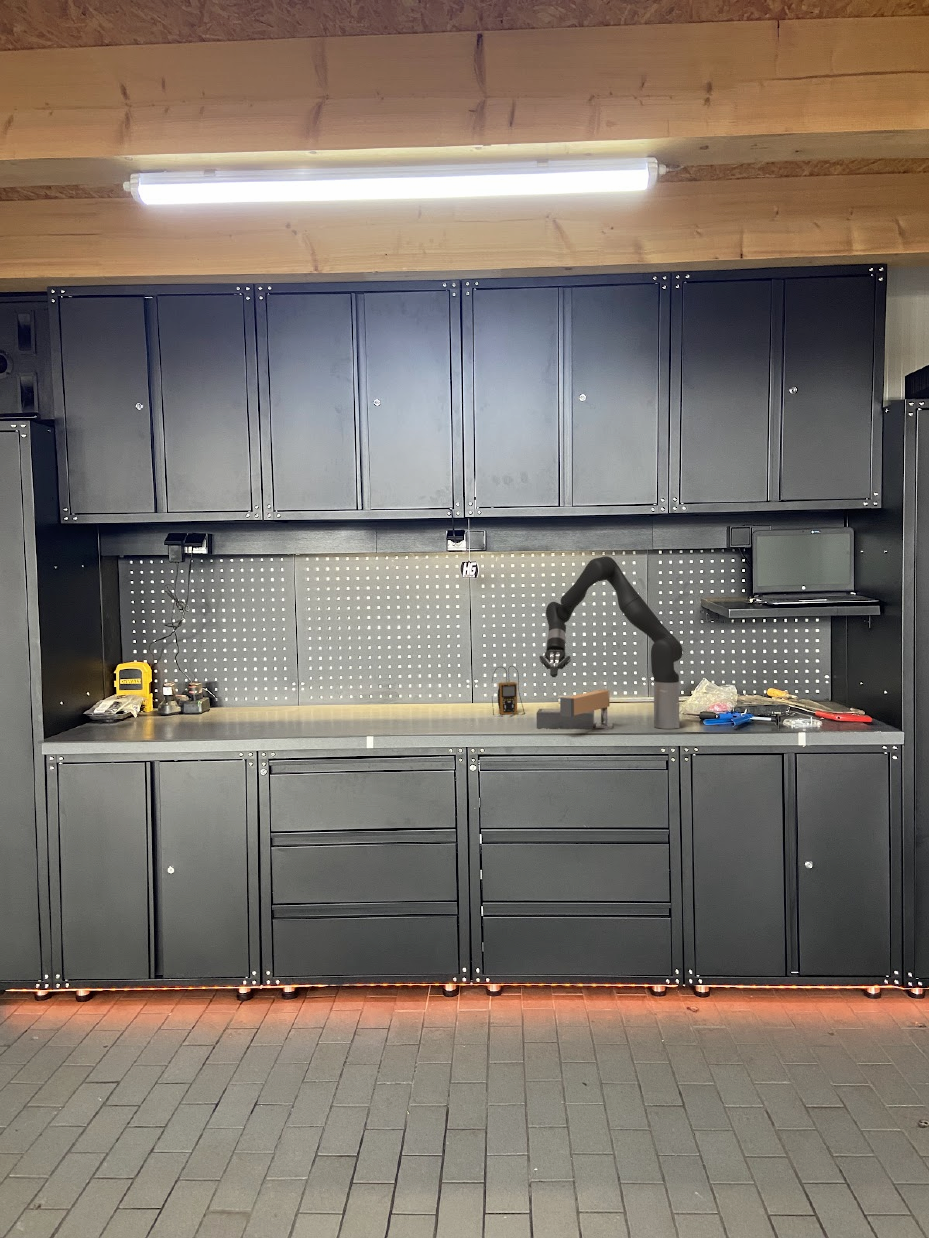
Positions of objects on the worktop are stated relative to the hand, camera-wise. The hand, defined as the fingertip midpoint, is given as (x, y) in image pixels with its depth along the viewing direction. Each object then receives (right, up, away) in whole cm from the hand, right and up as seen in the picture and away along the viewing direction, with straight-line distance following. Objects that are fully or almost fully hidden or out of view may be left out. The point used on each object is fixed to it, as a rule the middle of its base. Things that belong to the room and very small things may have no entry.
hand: (553, 676), depth 360 cm
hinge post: (+18, -18, -14) cm, 29 cm away
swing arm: (+10, -11, -25) cm, 29 cm away
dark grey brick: (+3, -18, -12) cm, 22 cm away
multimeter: (-16, -17, +17) cm, 29 cm away
